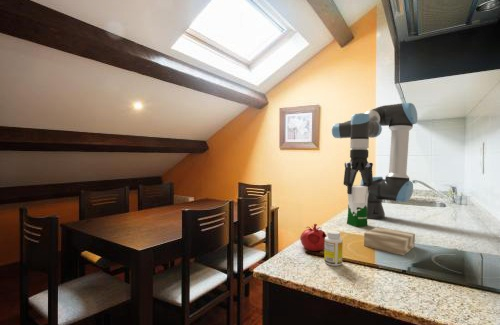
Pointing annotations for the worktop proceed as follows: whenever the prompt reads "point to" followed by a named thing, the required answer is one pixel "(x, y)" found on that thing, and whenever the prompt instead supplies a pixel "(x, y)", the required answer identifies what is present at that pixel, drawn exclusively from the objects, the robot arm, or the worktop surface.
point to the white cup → (359, 194)
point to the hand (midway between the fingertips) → (357, 201)
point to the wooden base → (389, 240)
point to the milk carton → (357, 214)
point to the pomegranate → (313, 239)
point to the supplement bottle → (333, 248)
